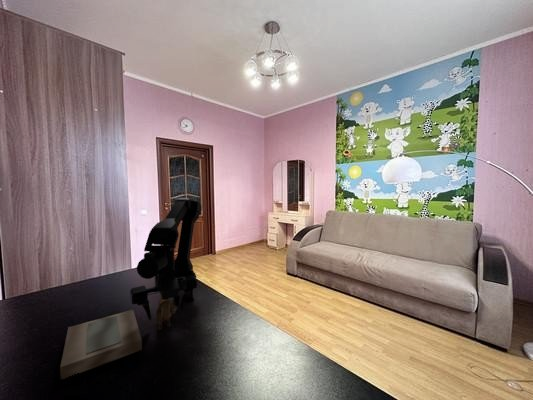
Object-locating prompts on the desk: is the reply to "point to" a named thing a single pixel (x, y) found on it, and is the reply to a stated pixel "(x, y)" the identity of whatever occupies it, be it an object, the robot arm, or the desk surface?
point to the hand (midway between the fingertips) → (165, 314)
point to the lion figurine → (165, 312)
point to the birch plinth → (100, 342)
